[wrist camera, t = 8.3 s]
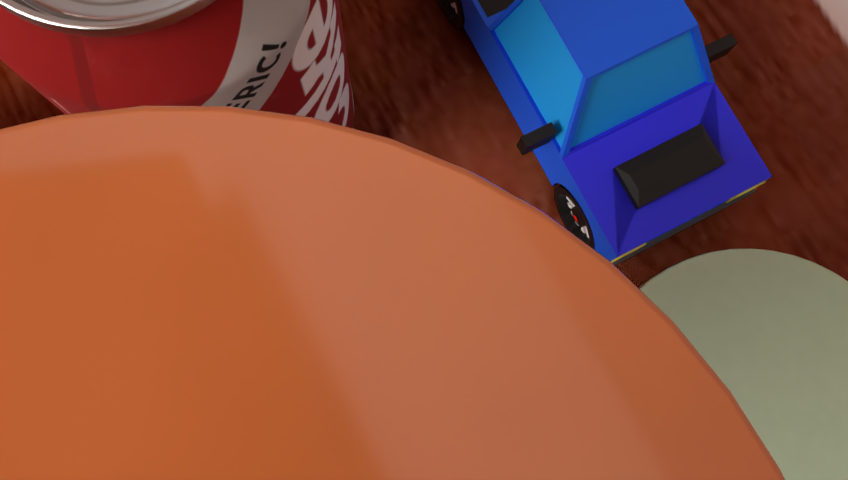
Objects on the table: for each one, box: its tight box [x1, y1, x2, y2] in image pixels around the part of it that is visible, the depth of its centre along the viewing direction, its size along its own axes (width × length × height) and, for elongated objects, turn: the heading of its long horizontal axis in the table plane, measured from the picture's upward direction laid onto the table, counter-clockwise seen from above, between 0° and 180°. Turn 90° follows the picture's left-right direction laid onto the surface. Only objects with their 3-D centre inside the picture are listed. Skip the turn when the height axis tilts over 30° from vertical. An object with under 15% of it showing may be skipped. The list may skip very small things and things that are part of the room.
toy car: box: [437, 0, 772, 265], centre depth 23 cm, size 7×12×5 cm, turn 27°
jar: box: [638, 248, 848, 480], centre depth 22 cm, size 9×9×3 cm
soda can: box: [0, 0, 354, 128], centre depth 18 cm, size 7×7×12 cm
